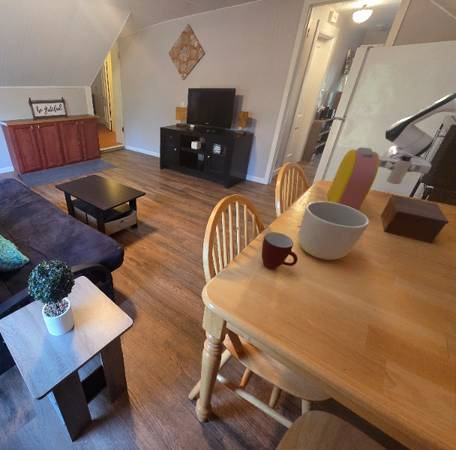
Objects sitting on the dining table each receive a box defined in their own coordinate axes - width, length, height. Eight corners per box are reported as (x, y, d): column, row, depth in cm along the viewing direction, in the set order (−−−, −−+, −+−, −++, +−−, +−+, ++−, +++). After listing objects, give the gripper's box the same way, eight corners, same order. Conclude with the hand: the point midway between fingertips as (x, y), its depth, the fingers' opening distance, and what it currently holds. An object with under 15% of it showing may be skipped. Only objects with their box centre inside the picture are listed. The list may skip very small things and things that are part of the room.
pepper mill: (397, 180, 112) (411, 154, 106) (402, 184, 108) (417, 157, 102) (384, 179, 113) (398, 153, 107) (389, 183, 109) (403, 156, 103)
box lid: (447, 224, 84) (448, 221, 83) (396, 213, 90) (397, 211, 90) (435, 205, 95) (436, 203, 95) (391, 197, 102) (392, 195, 101)
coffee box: (431, 243, 89) (446, 223, 85) (384, 231, 96) (396, 212, 91) (422, 224, 100) (435, 205, 95) (380, 215, 107) (391, 197, 102)
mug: (294, 265, 78) (304, 240, 73) (290, 280, 73) (300, 254, 67) (260, 253, 83) (268, 229, 78) (254, 266, 78) (261, 241, 72)
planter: (347, 274, 75) (371, 234, 67) (288, 254, 83) (302, 216, 75) (348, 247, 87) (368, 210, 79) (296, 232, 95) (309, 196, 87)
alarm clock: (356, 216, 106) (387, 156, 92) (331, 212, 109) (358, 153, 95) (348, 197, 122) (373, 143, 108) (327, 194, 125) (349, 141, 111)
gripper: (373, 150, 120) (374, 157, 110) (429, 157, 110) (437, 165, 100) (367, 163, 123) (368, 171, 113) (421, 171, 113) (428, 180, 103)
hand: (401, 168), depth 107 cm, fingers closed on pepper mill, 5 cm apart
